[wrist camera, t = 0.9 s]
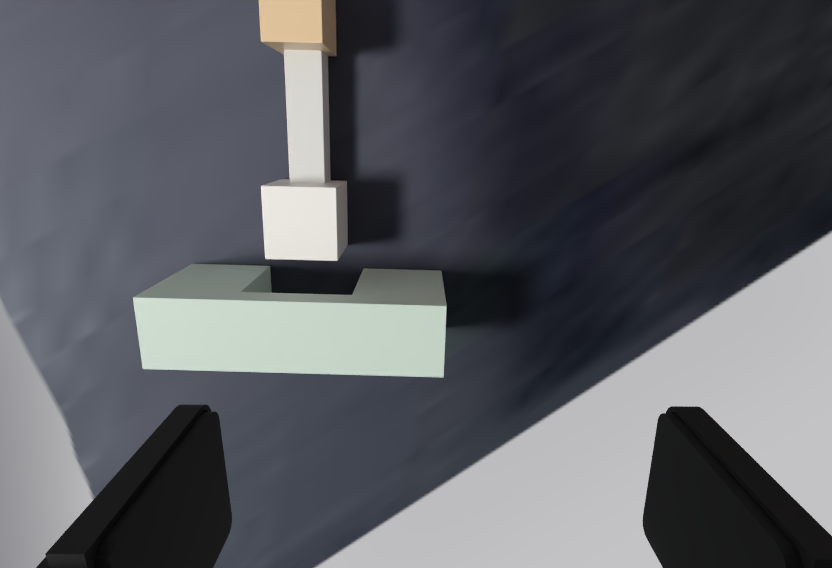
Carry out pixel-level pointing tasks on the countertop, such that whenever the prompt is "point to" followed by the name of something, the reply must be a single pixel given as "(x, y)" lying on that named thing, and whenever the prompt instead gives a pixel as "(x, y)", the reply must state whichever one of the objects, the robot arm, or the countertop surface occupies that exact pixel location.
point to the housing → (293, 324)
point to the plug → (304, 136)
